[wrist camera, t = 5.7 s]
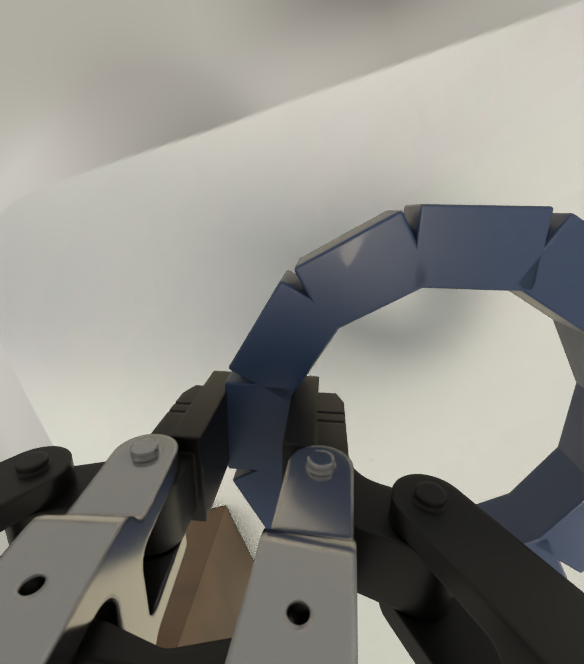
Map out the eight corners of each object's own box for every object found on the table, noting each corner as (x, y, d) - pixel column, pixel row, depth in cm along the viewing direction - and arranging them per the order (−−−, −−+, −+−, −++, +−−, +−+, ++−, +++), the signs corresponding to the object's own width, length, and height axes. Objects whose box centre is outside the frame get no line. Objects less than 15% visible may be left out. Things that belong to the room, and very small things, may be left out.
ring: (170, 329, 11) (142, 350, 10) (566, 111, 9) (625, 87, 7) (342, 589, 14) (344, 642, 12) (683, 483, 11) (746, 531, 10)
